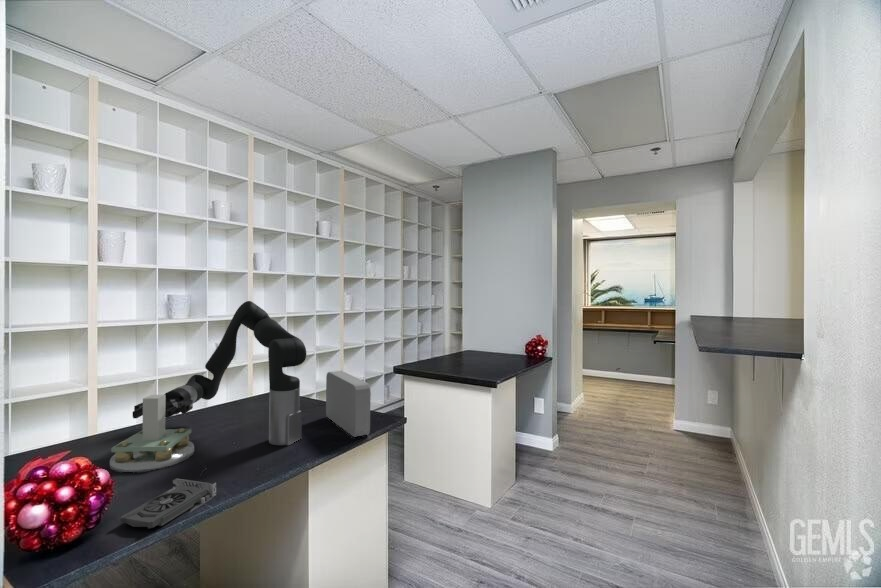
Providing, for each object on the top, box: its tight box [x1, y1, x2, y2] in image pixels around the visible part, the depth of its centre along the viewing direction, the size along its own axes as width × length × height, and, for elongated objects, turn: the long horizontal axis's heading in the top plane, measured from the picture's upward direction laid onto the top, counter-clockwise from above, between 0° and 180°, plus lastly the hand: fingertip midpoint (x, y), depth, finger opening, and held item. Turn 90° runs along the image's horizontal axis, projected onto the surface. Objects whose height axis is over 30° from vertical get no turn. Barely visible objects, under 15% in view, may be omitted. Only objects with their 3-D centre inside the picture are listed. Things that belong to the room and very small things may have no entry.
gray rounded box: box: [325, 370, 372, 437], centre depth 148 cm, size 29×8×18 cm, turn 35°
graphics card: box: [120, 478, 217, 530], centre depth 92 cm, size 17×4×12 cm
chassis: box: [109, 427, 195, 474], centre depth 119 cm, size 20×20×6 cm
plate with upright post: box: [110, 394, 192, 453], centre depth 119 cm, size 14×14×13 cm
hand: (150, 414), depth 117 cm, fingers open, 8 cm apart
